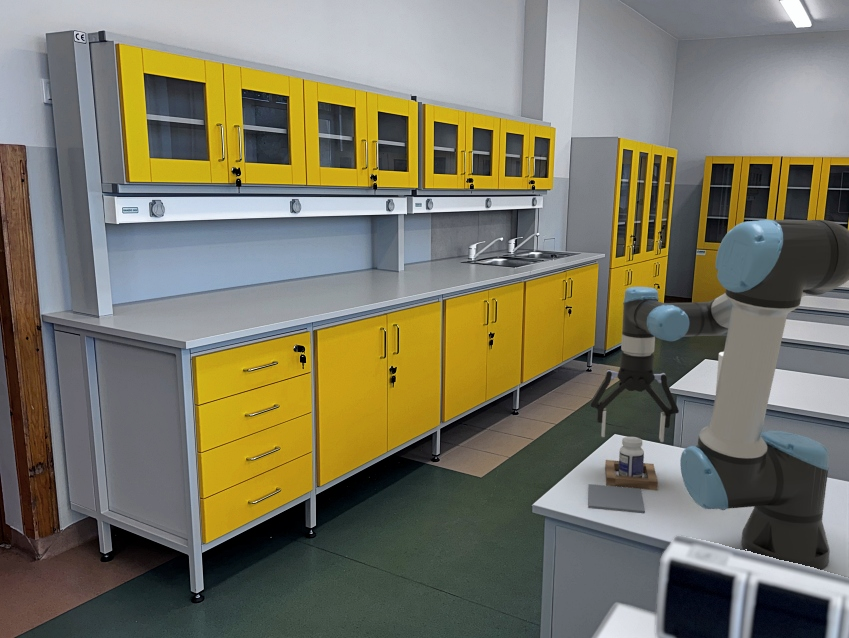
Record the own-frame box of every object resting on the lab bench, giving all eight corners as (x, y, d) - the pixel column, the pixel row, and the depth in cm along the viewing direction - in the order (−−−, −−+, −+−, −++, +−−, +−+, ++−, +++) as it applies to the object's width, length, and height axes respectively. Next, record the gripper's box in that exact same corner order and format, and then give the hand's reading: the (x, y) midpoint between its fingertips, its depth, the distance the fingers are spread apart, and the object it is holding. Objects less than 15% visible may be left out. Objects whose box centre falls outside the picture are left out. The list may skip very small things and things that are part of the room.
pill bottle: (642, 475, 172) (644, 436, 170) (642, 484, 166) (645, 444, 164) (618, 472, 173) (620, 434, 171) (618, 481, 168) (620, 442, 166)
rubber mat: (645, 513, 151) (645, 511, 151) (588, 507, 154) (588, 505, 153) (640, 490, 162) (641, 488, 162) (588, 485, 165) (588, 483, 165)
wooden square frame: (657, 490, 163) (658, 482, 162) (606, 485, 165) (606, 477, 165) (653, 471, 174) (653, 463, 173) (605, 467, 176) (605, 459, 176)
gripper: (690, 351, 165) (684, 436, 169) (583, 345, 170) (579, 428, 174) (695, 359, 158) (688, 447, 162) (583, 353, 163) (579, 438, 167)
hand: (631, 437), depth 168 cm, fingers open, 13 cm apart
